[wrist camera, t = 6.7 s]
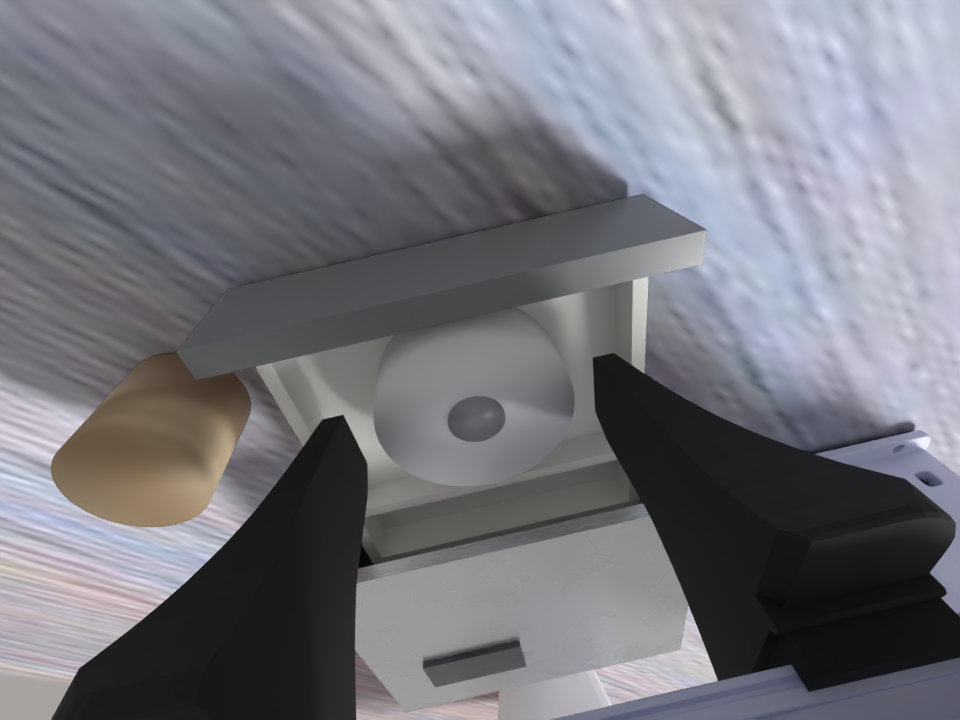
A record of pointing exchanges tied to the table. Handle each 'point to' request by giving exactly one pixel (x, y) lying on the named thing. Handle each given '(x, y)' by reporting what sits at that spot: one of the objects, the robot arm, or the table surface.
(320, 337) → the tray
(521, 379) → the disc
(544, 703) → the cup
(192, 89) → the table surface
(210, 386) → the tan rounded lump
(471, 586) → the player housing
